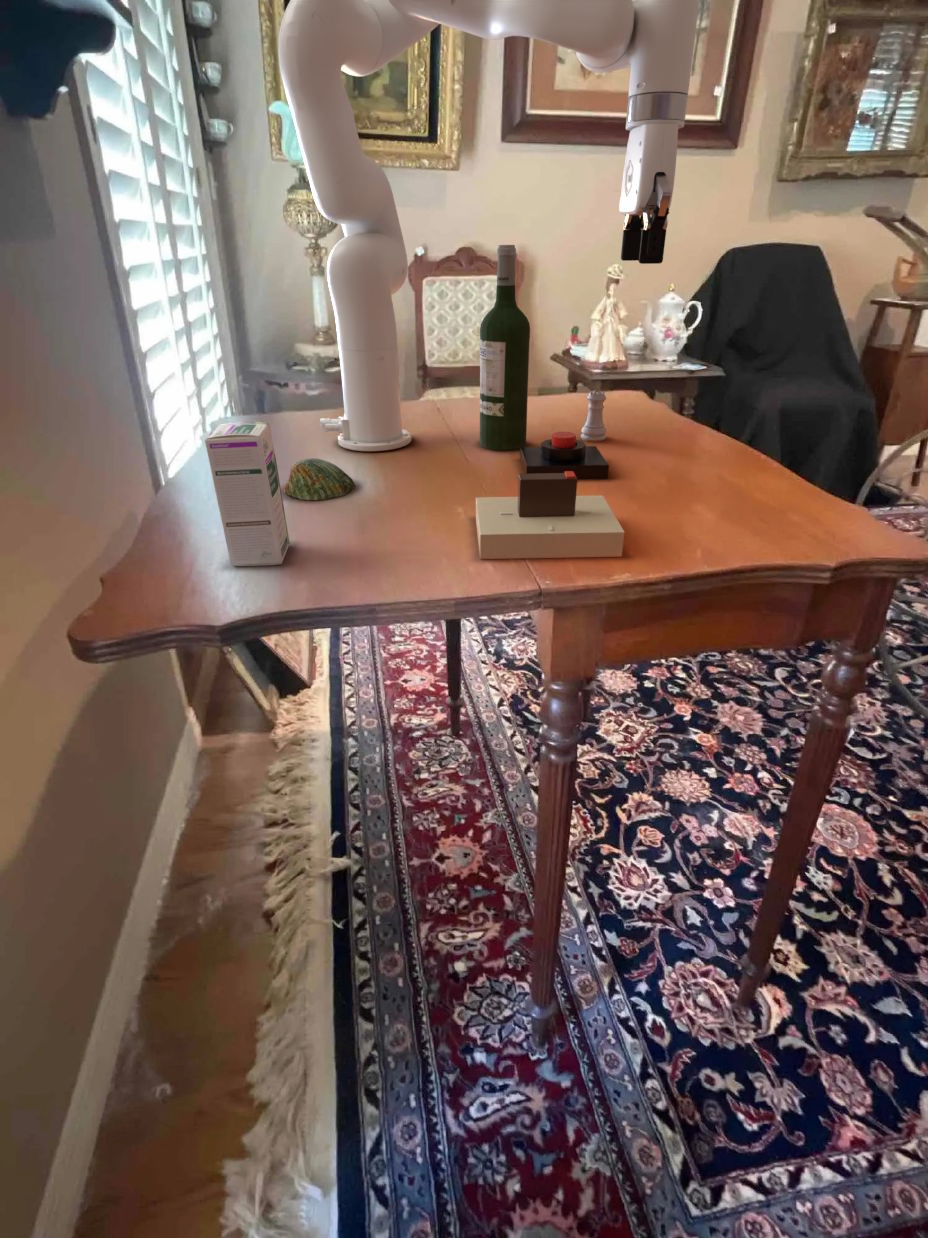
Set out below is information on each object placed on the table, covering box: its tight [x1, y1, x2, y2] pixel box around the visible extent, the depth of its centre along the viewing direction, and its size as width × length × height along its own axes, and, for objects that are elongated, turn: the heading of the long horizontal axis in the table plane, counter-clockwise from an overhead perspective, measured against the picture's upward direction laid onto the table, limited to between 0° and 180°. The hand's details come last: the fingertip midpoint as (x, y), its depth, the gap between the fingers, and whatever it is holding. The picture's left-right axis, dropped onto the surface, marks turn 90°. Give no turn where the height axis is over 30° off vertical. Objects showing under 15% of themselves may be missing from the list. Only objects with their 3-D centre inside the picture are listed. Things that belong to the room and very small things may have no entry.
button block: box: [519, 438, 610, 481], centre depth 104 cm, size 12×10×4 cm
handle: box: [517, 471, 578, 517], centre depth 80 cm, size 6×2×5 cm, turn 91°
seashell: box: [283, 458, 356, 501], centre depth 98 cm, size 10×4×10 cm
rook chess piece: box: [580, 389, 607, 443], centre depth 118 cm, size 4×4×8 cm
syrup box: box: [204, 421, 290, 567], centre depth 75 cm, size 6×6×14 cm
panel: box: [475, 494, 625, 560], centre depth 82 cm, size 16×12×3 cm
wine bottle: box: [479, 244, 531, 452], centre depth 110 cm, size 8×8×30 cm
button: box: [551, 431, 577, 448], centre depth 103 cm, size 4×4×2 cm
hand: (640, 261), depth 99 cm, fingers open, 9 cm apart
